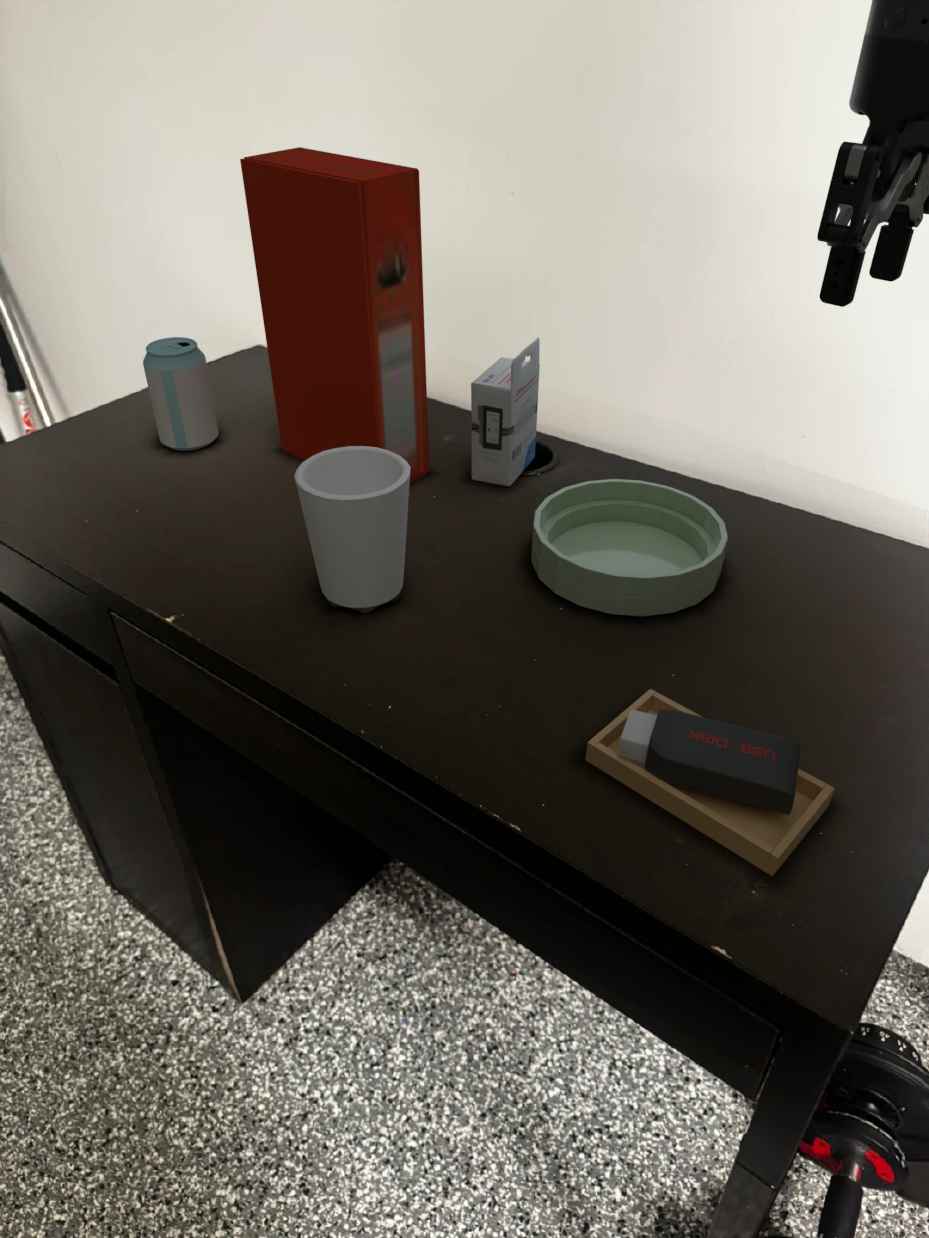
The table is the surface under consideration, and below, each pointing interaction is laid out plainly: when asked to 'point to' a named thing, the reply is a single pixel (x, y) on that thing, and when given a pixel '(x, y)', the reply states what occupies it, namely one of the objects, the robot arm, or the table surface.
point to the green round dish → (628, 547)
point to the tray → (714, 798)
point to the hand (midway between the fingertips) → (860, 290)
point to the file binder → (341, 300)
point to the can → (180, 393)
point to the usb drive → (714, 757)
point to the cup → (356, 523)
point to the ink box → (505, 417)
